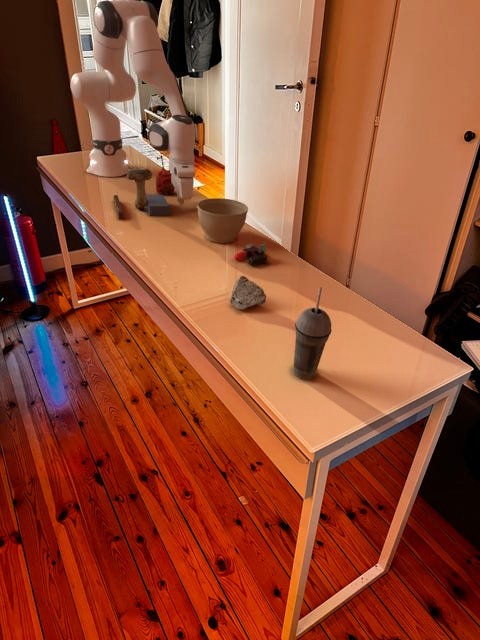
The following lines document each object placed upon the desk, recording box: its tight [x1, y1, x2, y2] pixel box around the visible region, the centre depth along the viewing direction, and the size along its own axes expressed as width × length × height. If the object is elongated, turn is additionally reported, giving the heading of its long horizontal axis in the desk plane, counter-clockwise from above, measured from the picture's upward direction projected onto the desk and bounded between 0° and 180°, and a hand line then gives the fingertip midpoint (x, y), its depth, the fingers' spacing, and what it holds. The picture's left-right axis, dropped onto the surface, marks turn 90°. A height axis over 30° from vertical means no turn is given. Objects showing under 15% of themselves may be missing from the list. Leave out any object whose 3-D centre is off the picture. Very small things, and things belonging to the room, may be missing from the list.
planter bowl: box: [196, 197, 249, 244], centre depth 154 cm, size 16×16×11 cm
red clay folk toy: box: [155, 152, 176, 196], centre depth 186 cm, size 8×7×15 cm
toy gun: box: [233, 242, 269, 267], centre depth 144 cm, size 10×12×5 cm
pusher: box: [145, 194, 171, 217], centre depth 173 cm, size 12×7×4 cm, turn 18°
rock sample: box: [229, 275, 267, 310], centre depth 121 cm, size 10×8×9 cm
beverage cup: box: [293, 286, 332, 381], centre depth 95 cm, size 7×7×20 cm
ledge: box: [112, 194, 124, 221], centre depth 169 cm, size 18×2×2 cm, turn 18°
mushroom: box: [126, 167, 153, 211], centre depth 168 cm, size 9×9×15 cm
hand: (180, 203), depth 175 cm, fingers closed
